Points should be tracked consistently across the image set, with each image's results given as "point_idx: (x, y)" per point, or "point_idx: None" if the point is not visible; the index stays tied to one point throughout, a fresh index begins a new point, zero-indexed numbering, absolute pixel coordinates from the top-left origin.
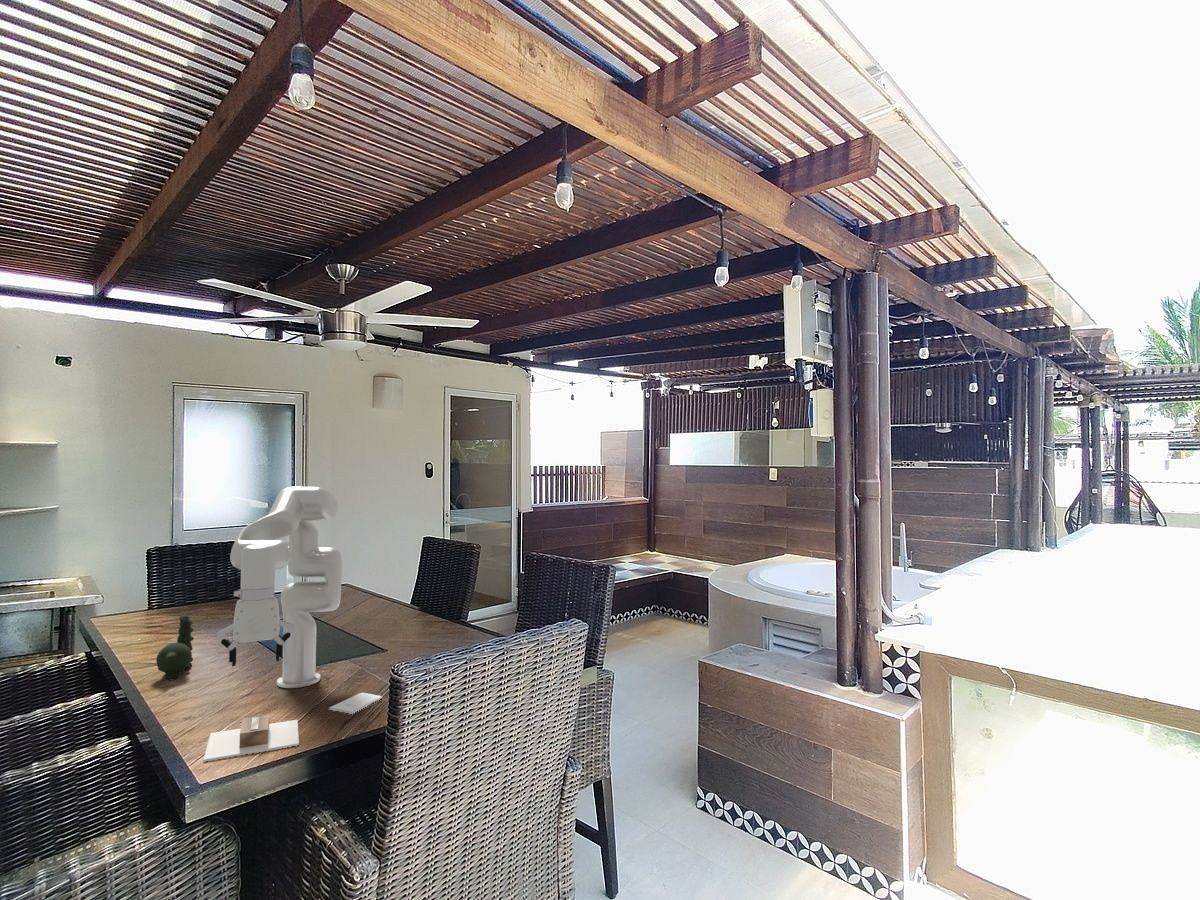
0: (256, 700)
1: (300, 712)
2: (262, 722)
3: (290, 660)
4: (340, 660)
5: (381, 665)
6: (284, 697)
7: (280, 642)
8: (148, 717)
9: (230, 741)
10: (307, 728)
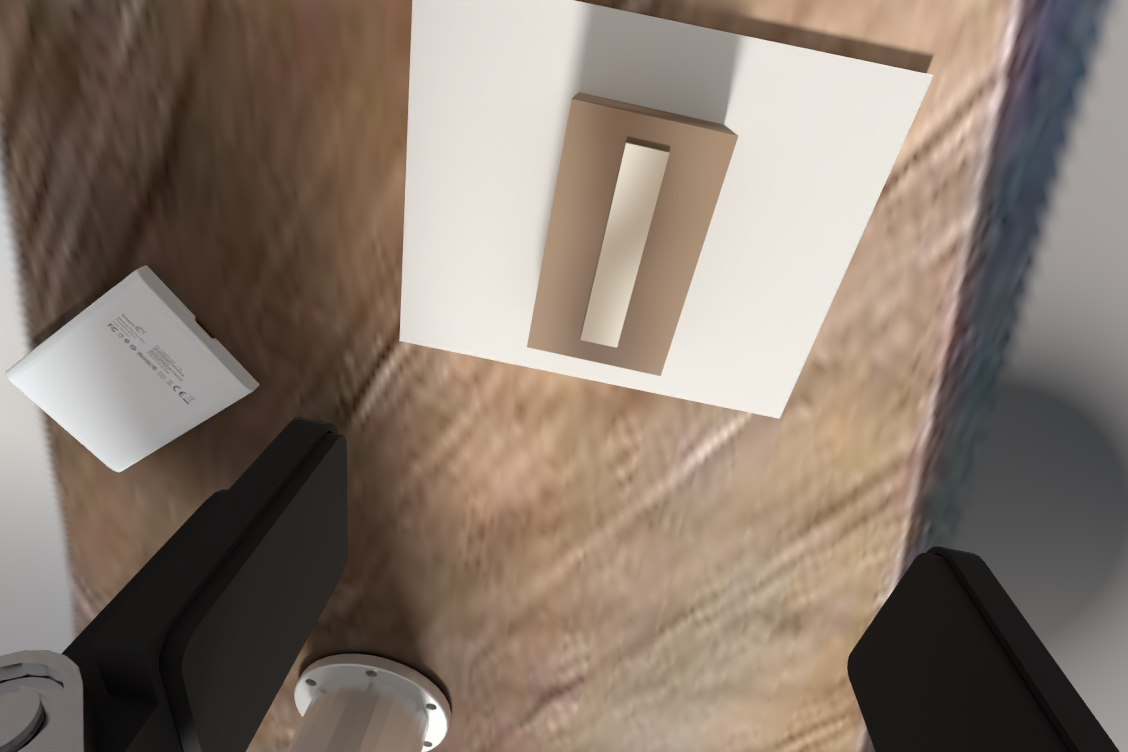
0: (535, 636)
1: (385, 435)
2: (579, 249)
3: None
4: None
5: None
6: (436, 608)
7: (3, 727)
8: None
9: (735, 257)
10: (361, 219)
